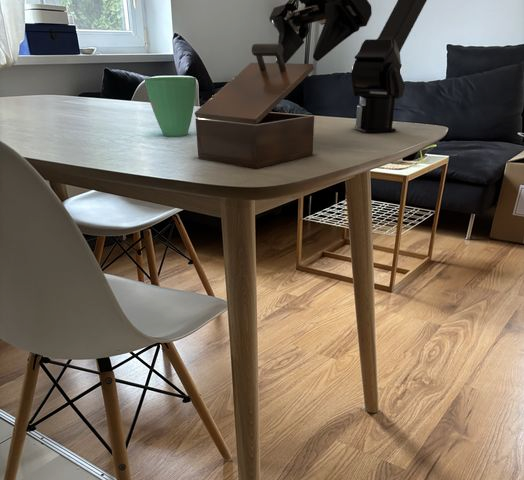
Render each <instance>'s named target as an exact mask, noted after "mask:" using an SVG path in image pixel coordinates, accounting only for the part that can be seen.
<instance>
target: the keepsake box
mask: <svg viewBox="0 0 524 480" xmlns="http://www.w3.org/2000/svg"><path fill="white" fill-rule="evenodd" d="M314 130H315V115H310V114H309V115H308V114H307V115H306V114H297V113H285V112H274V111H270V112H269V113H268V114H267V115H266V116H265V117H264V118H263V119H262V120H261V121H260V122H259V123H258V124H249V123H240V122H231V121H222V120H213V119H204V118H196V117H195V131H196V132H195V133H196V146H197V158H198V159H200V160H206V161H212V162H218V163H222V164H229V165H234V166H240V167H246V168H251V169H256V170H257V169H261V168H264V167H270V166H273V165H279V164H281V163H285V162H289V161H294V160H298V159H302V158H307V157H310V156H313V155H314V135H315V134H314V133H315V131H314Z"/></svg>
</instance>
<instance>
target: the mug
mask: <svg viewBox="0 0 524 480" xmlns="http://www.w3.org/2000/svg"><path fill="white" fill-rule="evenodd" d="M144 85H145V88H146V92H147V96H148V99H149V102H150V103H149V104H150V105H151V109H152V111H153V115H154V117H155V119H156V121H157V124H158V126H159V129H160V131H161V132H162V135H163V136H166V137H184V136H188V134H189V131H190V127H191V123H192V119H193V113H194V109H195V101H196V92H197V91H196V90H197V78H196V77H194V76H160V77H159V76H157V77H146V78H144Z"/></svg>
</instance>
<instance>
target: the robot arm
mask: <svg viewBox="0 0 524 480" xmlns="http://www.w3.org/2000/svg"><path fill="white" fill-rule="evenodd" d="M427 1H428V0H397V1H396V3H395V5H394V7H393V9H392V11H391V13H390V14H389V16H388V19H386V22H385V24H384V26H383V27H382V30H381V31H380V33H379V35H378V37H377V38H376V39H375V38H374V39H372V38H371V39H370V38H369V39H365V40H364V41H363V42H362V44H361V46H360V48H359V51H358V52H357V53H356V55H355V56H354V60H355V61H354V62H353V64H352V68H351V71H350V72H351V73H350V75H351V85H352V93H353V97H359V104H357V106H356V115H355V116H356V119H355V125H354V126H353V128H354V130H357V131H361V132H363V133H383V132H396V130H397V128H395V127H393V124H394V123H393V122H394V113H395V105H396V99H400V98H403V95H404V92H405V90H406V89H405V88H406V84H405V81H404V79H403V76H402V74H401V68H402V60H401V51H402V48H403V47H404V45H405V43H406V42H407V39H408V37H409V36H410V33H411V32H412V29H414V26H415V24H416V22H417V21H418V18H419V16H420V15H421V13H422V11H423V8H424V7H425V5H426V4H427ZM298 2H299V3H301V4H303V5H304V7H302V8H297V7H296V6H295V4H294V3H293V2H289V3H285V4H282V5H278V6H275V7H273V9H272V11H271V13H270V16H269V22H270V23H271V25H273V27H274V28H275V29H276V30H277V32H278V40H277V41H278V42H277V43H280V44H282V46H283V54H282V56H283V60H284V63H288V62H289V61H290V59H291V58H292V57H293V56H294V55H295V54H296V53H297V51H299V49H301V47H302V46H303V44H305V39H306V38H307V36H308V35H309V32H310V25H309V24H312V23H313V24H314V23H317V22H318V24H320V25H321V26H322V29H321V31H320V34H319V37H318V39H317V42H316V45H315V48H314V50H313V55H312V59H314V61H315V62H320V60H322V59H323V58H324V57H325V56H327V55H328V54H329V53H330V52H331V51H332V50H334V49H335V48H336V47H337V46H339V45H340V44H341V43H342V42H344V41H345V40H346V39H348V38H349V37H351V36H352V35H353V34H354V33H356V32H359V30H360V29H361V28H364V27H367V25H368V24H369V22H370V20H371V17H372V14H373V13H372V11H373V10H372V5H371V2H369V0H298ZM275 58H276V57H275ZM275 63H278V62H277V58H276V59H275ZM371 90H378V91H371ZM379 90H380V91H379Z"/></svg>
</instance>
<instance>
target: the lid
mask: <svg viewBox="0 0 524 480" xmlns="http://www.w3.org/2000/svg"><path fill="white" fill-rule="evenodd" d="M251 53H252V55H253V56H254V57H256V58H255V59H256V60H257V62H250V63H249V64H247V65H246V66H245V67H244V68H243V69H241V71H239V73H238V74H236V75H235V76H234V77H233V78H232V79H231V80H230V81H229V82H226V84H224V86H223V87H222V88H220V90H218V92H216V93H215V94H214V95H212V96H211V98H209V99H208V100H207V101H206V102H204V104H203V105H201V106H200V107H199V108H198V109H197V110H196V111H195V112H193V113H194V116H195V119H196V118H204V119H213V120H222V121H231V122H240V123H249V124H258V123H259V122H260V121H261V120H262V119H263V118H264V117H265V116H266V115H267V114H268V113H269V112H272V110H274V109H275V108H276V106H278V105H279V104H280V103H281V102H282V101H283V100H284V99H285V98H286V97H287V96H288V95H289V94H291V92H292V91H293V90H294V89H295V88H296V87H297V86H298V85H299V84H301V83H302V82H303V80H305V79H306V77H308V76H309V75H310V74H311V73H312V72H314V70H315V66H314V63H291V62H290V63H289V62H286V63H284V60H283V56H282V54H283V46H282V44H280V43H278V42H277V43H275V42H274V43H253V44H252V46H251ZM264 57H275V58H277V62H278V63H276V62H265V59H264Z"/></svg>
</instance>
